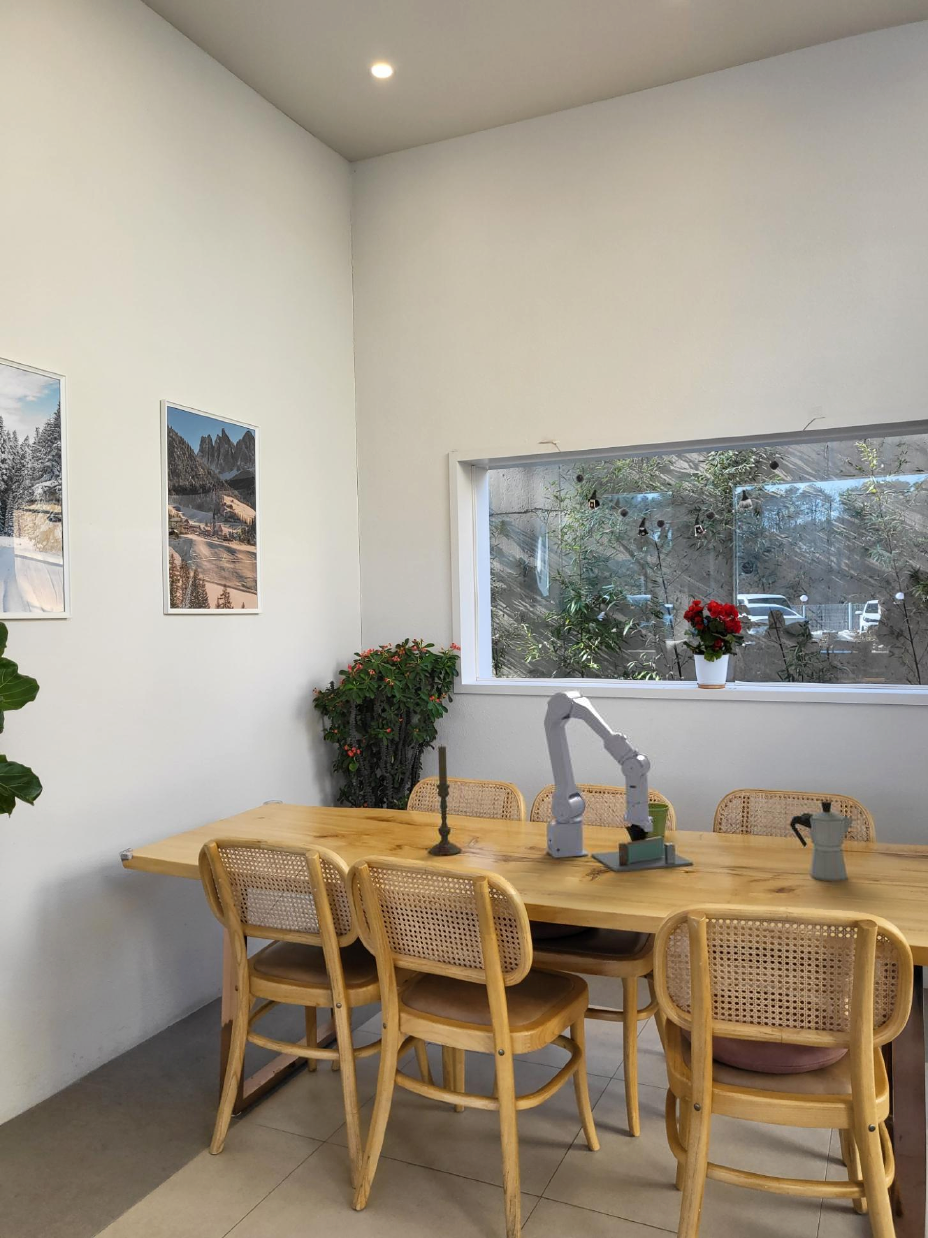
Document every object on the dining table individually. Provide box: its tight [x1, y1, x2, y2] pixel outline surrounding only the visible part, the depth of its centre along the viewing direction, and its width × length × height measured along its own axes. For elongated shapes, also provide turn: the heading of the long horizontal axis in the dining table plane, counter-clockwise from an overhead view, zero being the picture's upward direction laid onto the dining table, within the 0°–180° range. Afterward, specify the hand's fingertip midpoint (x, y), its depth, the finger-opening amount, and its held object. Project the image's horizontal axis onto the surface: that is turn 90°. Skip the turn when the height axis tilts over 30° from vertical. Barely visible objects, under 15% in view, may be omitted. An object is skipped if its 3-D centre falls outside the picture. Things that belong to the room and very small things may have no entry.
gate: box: [626, 836, 665, 863], centre depth 242 cm, size 12×1×5 cm, turn 121°
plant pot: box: [646, 802, 670, 838], centre depth 272 cm, size 9×9×9 cm
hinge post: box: [618, 842, 627, 866], centre depth 238 cm, size 2×2×6 cm
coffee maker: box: [789, 800, 856, 882], centre depth 225 cm, size 15×9×18 cm, turn 77°
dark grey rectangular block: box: [664, 842, 676, 864], centre depth 239 cm, size 2×2×6 cm
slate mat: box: [591, 850, 694, 873], centre depth 244 cm, size 21×17×1 cm
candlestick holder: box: [428, 743, 462, 857], centre depth 259 cm, size 9×9×30 cm
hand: (638, 853), depth 243 cm, fingers closed
